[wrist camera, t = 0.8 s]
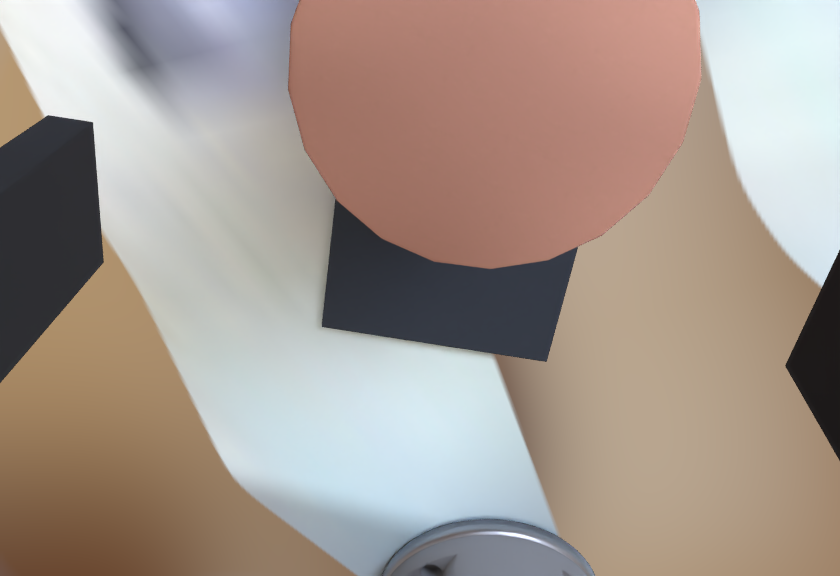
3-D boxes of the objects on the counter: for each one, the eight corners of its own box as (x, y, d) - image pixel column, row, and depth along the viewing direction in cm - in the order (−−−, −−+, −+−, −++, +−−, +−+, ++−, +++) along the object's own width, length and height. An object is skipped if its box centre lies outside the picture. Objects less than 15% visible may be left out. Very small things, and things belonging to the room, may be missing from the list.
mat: (546, 359, 45) (546, 362, 45) (322, 324, 45) (321, 327, 44) (605, 143, 39) (606, 144, 39) (346, 100, 39) (345, 102, 38)
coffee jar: (327, -85, 35) (212, -50, 19) (561, -182, 33) (654, -235, 17) (411, 136, 39) (375, 314, 23) (621, 63, 37) (739, 205, 21)
